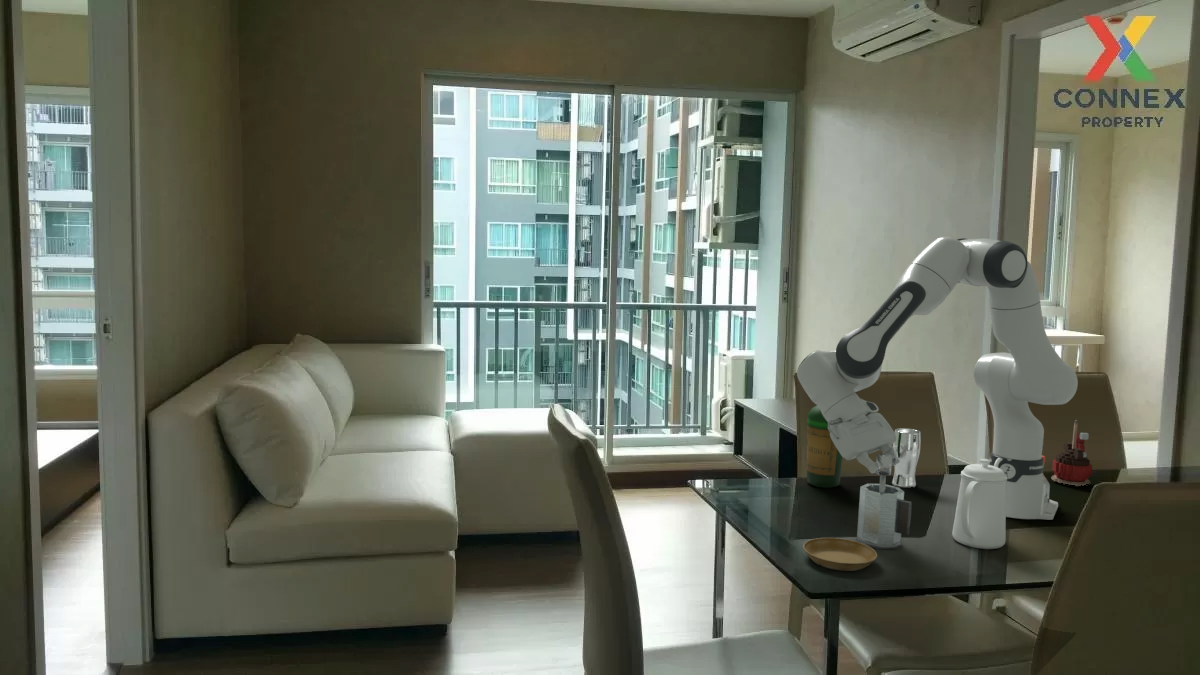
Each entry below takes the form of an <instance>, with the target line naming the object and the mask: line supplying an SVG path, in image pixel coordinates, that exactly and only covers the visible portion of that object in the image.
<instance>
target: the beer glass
mask: <svg viewBox="0 0 1200 675" xmlns="http://www.w3.org/2000/svg"><path fill="white" fill-rule="evenodd" d="M894 432H895V434H896V438H897V440H896V441H895V442H894V443H893V444H892V446H893V448H894V451H895V454H896V456H897V458H898V459H899V461H900V462H899V463H898V464H897V465H894V466H893V467H894V473H893V478H892V482H891V483H892V486H895V487H899V488H904V489H905V488H906V489H910V488H911V487H913V488H915V487H916V485H917V483H916V469H917V464H918V460H919V457H920V453H921V431H920V430H917V429H915V428H913V429H912V428H905V427H904V428H903V427H902V428H899V427H898V428H896V429H894ZM911 489H912V488H911Z"/></svg>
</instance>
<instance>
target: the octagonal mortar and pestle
mask: <svg viewBox="0 0 1200 675" xmlns="http://www.w3.org/2000/svg"><path fill="white" fill-rule="evenodd" d="M879 486H880V483H866V484H864V485H860V489H859V503H858V517H857V520H858V521H857V530H856V531H857V532H856V533H857V534H856V542H857V541H858V542H859V543H862V544H865V545H867V546H869V547H871V548H872V549H874V550H875V549H876V550H881V551H889V550H890V551H893V550H896V549H899V548H901V543H902V535H904V536H907V535H910V534H911V532H910V531H911V519H912V505H913V503H912V501H909V500H905V498H904V497H905V491H904V490H903V489H901V487H898V486H895V485H889V484H886V483H885V493H879Z"/></svg>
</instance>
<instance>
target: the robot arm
mask: <svg viewBox="0 0 1200 675" xmlns="http://www.w3.org/2000/svg"><path fill="white" fill-rule="evenodd" d="M958 283H959V284H960V283H962V284H965V285H969V286H975V287H987V289H988V302H989V309H990V320H991V325H992V326H991V327H992V332H993V336H994V338H995V339H996V341H998V342H999V343H1000V344H1001V345H1003V346H1004V347H1005V348H1006V349H1007V350H1008V352H993V353H992V352H991V353H986V354H983V355H981V356H980V357H979V358H978V360H977V361H976V363H975V365H974V367H973V380H974V383H975V384H976V386H977V387H978V388H979V390H981V392H983V393H982V394H984V396H985V397H986V399H987V402H988V404H989V406H990V409H991V413H992V417H993V440H992V442H993V444H992V451H991V452H990V456H989V460H990V463H989V465H991V466H994V464H995V461H996V460H997V459H998V458H1002V459H1003V460H1002V461H1000V463H999V465H998V468H1000V469H1001V470H1003V472H1004V474H1005V476H1006V477H1007V481H1006V518H1012V519H1020V520H1045V521H1046V520H1049V521H1050V520H1054V517H1055V515H1056V513H1057V511H1058V508H1059V502H1058V501H1055V500H1052V499H1050V488H1051V484H1050V483H1049V481H1048V479H1047V478H1046V477H1045V475H1044V471H1045V470H1044V467H1045V462H1046V456H1045V455H1043V446H1044V438H1045V437H1044V436H1045V434H1044V433H1045V428H1044V426H1043V424H1042V422H1041V421H1040V420H1039V419H1038V418H1037V417H1036V416H1034V414H1033V412H1032V411H1031V409H1030V407H1029V403H1033V404H1036V405H1037V404H1039V405H1043V406H1045V405H1046V406H1050V405H1051V406H1055V405H1057V406H1059V405H1061V406H1062V405H1065V404H1067V403H1068V402H1070V400H1073V398H1074V396H1075V395H1076V392H1077V390H1078V385H1079V384H1078V383H1079V382H1078V376H1077V372H1076V371H1075V369H1074V368H1073V367H1072V366H1070V365H1069V364H1068V363H1067V362H1066V361H1064V360H1063V359H1062V358H1061V357H1060V355H1059V354H1058V353H1057V352H1056V350H1055V347H1053V345H1052V344H1051V341H1050V340H1049V337H1048V335H1047V333H1046V330H1045V325H1044V320H1043V314H1042V303H1041V296H1040V291H1039V290H1040V289H1039V285H1038V281H1037V278H1036V274H1035V272H1034V269H1033V266H1032V264H1031V263H1030V261H1028V257H1027V255H1026V252H1025V251H1024V249H1023V248H1022V247H1021V246H1020V245H1018V244H1016V243H1014V242H1011V241H1007V240H998V239H993V238H970V239H969V238H963V237H962V238H957V239H956V238H954V237H952V236H941V237H938V238H935V239H934V240H933V241H932V242H931V243H930V244H928V245H927V246H926V247H925V248H923V250H922V251H921V252H919V254H917V255H916V256H915V258H914V259H913V260H912V261H911V262H910V263H909V265H908V266H907V267H906V269H905V270H903V272H902V274H901V275H900V276H899V278H898V280H897V282H896V284H895V286H894V287H893V289H892V291H891V293H890V295H889V296H888V298H886V300H885V301H884V302H883V303H882V304H881V305H880V306H879V307H878V308H877V310H876V311H875V312H874V313H873V314H872V316H871V317H870V318H868V319H867V321H866V322H865V323H864V324H863V325H860V327H857V328H855V329H853V330H852V331H850V332H848V333H846V334H845V335H843V337H841V339H840V340H839V342H838V343H837V345H836V348H835V350H814V351H812V352H811V353H809V354H808V355H807V356H805V358H804V359H803V360H802V361H801V362H800V363H799V365H798V367H797V370H796V372H797V373H796V374H797V376H796V377H797V380H798V381H799V383H800V385H801V387H802V388H803V390H804V392H805V393H806V394H807V396H808V398H809V399H810V400H811V402H812V403H814V404H815V406H818V407H819V408H820V410H821V412H822V415H823V417H824V418H825V419H826V421H827V422H828V430H829V431H830V437H831V439H832V441H833V443H834V445H835V446H836V448H837V449H838V451H839V452H840V454H841V455H842V457H843V459H845V460H846V461H851V460H854V459H856V460H857V462H858V463H859V464H861V465H863V467H865V468H866V469H867V470H868V471H869V473H871V474H872V475H873V474H876V472H877V471H879V470H880V467H879V466H878V464H877V463H876V461H873V459H871V458H870V457H869V456H870V455H869V454H872V453H875V452H878V451H881V452H882V454H889V455H892V467H895V466H894V465H897V464H898V463H899V462H900V461H899V459H898V458H897V456H896V454H895V451H894V448H893V443H894V442H895V441H896V440H897V438H896V434H895V430H893V428H892V427H891V425H890V424H889V422H888V421H887V420H886V417H884V416H883V415H882V414H881V413H879V410H880V409H879V406H878V405H877V404H876V403H875V402H871V401H867V400H865V399H863V398H860V396H859V395H858V394H857V393H858V392H860V391H861V392H862V390H865V389H868V388H869V387H872V385H874V384H875V383H876V382H877V381H878V380H879V378H880V375H881V371H882V369H883V368H882V366H883V362H884V359H885V356H886V351H887V347H888V345H889V343H890V341H892V339H893V338H894V337H895V335H896V334H898V332H899V331H900V330H901V329H902V328H903V326H904V325H905V324H906V323H907V322H908V321H909V320H910V318H912V317H913V316H926V315H930V314H931V313H932V312H934V311H935V309H937V308H938V307H939V306H941V304H942V303H944V301H945V300H947V298H948V297H949V295H950V294H951V293H952V291H953V290H954V289H955V288H956V286H957V284H958Z"/></svg>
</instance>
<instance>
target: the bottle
mask: <svg viewBox="0 0 1200 675" xmlns="http://www.w3.org/2000/svg"><path fill="white" fill-rule="evenodd" d="M843 459H844V458H843V457H842V455H841V454H840V452H839V451H838V449H837V448H836V446H835V445H834V443H833V441H832V439H831V437H830V431H829V430H828V422H827V421H826V419H825V418H824V417H823V415H822V412H821V410H820V408H819V407H818V406H817V405H814V406H813V407H812V408H811V409H810V410H809V412H808V413H807V415H806V482H807V483H808V484H809V485H811V486H814V487H817V488H821V489H832V488H836V487H838V486H840V482H841V476H842V474H841V473H842V465H843Z"/></svg>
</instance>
